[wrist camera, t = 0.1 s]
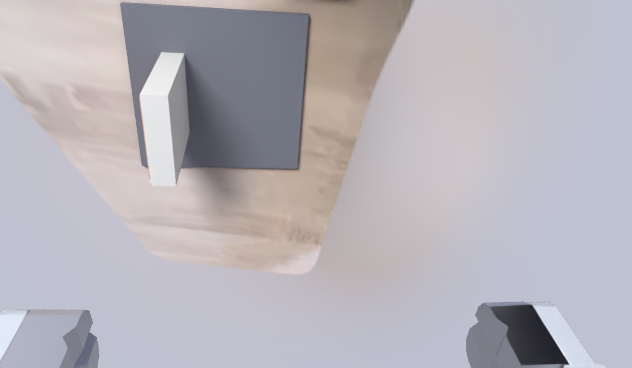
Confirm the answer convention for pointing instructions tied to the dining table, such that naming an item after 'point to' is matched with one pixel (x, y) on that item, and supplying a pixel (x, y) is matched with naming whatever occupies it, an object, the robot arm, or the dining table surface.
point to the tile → (165, 118)
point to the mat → (226, 79)
